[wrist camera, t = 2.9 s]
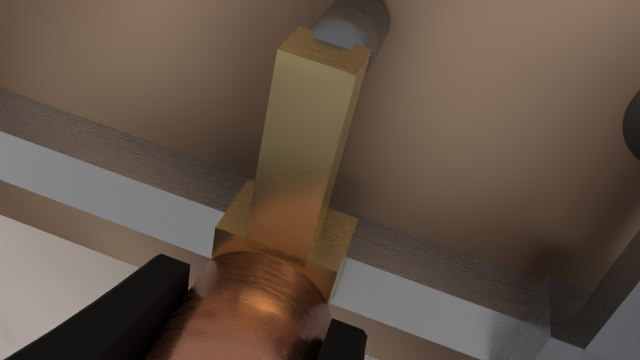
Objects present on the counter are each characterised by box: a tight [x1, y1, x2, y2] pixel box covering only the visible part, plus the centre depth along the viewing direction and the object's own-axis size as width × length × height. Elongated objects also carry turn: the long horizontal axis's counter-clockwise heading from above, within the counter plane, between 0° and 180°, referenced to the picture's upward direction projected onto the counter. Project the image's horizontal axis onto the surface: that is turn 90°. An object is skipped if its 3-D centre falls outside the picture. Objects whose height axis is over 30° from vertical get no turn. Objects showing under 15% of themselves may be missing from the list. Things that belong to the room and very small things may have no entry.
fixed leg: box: [493, 229, 640, 360], centre depth 11 cm, size 2×7×3 cm, turn 168°
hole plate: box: [0, 0, 640, 360], centre depth 14 cm, size 22×13×2 cm, turn 78°
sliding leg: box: [143, 0, 389, 360], centre depth 10 cm, size 3×7×6 cm, turn 168°
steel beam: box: [0, 88, 544, 360], centre depth 14 cm, size 21×2×2 cm, turn 78°
